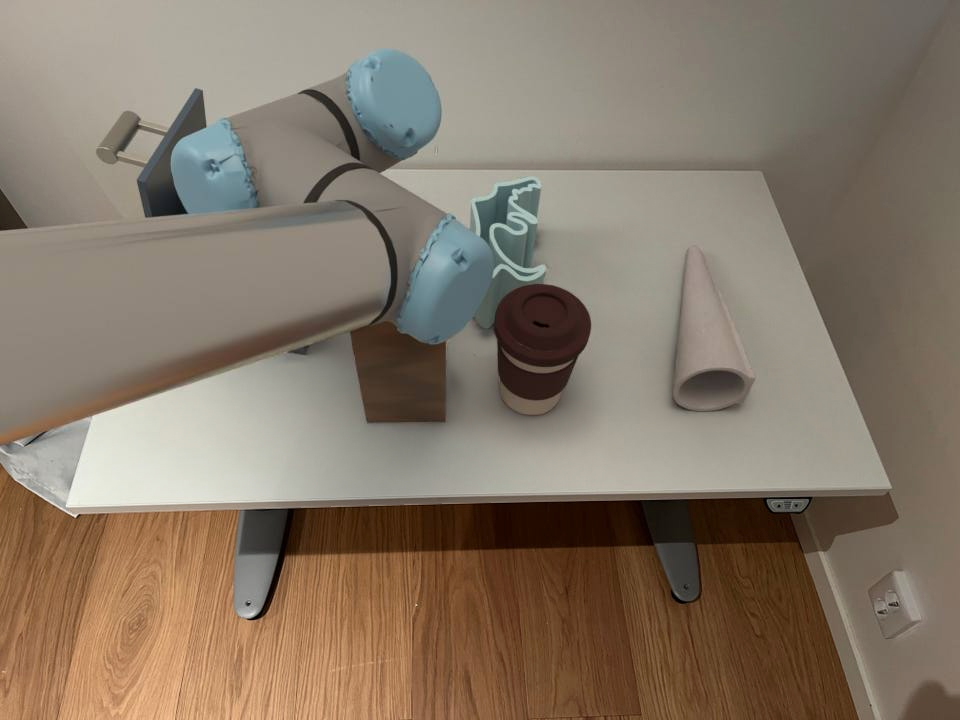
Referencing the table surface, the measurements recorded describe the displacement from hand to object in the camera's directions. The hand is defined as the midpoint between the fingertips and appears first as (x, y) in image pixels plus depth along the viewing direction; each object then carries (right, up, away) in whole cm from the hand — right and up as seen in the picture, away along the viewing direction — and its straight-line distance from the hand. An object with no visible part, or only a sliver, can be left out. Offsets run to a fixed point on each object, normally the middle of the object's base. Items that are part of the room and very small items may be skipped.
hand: (223, 226), depth 78 cm
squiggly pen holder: (+33, -4, +12) cm, 35 cm away
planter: (+56, -11, +9) cm, 57 cm away
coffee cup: (+35, -19, +2) cm, 40 cm away
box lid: (-2, +3, -6) cm, 7 cm away
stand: (+21, -19, +1) cm, 28 cm away
